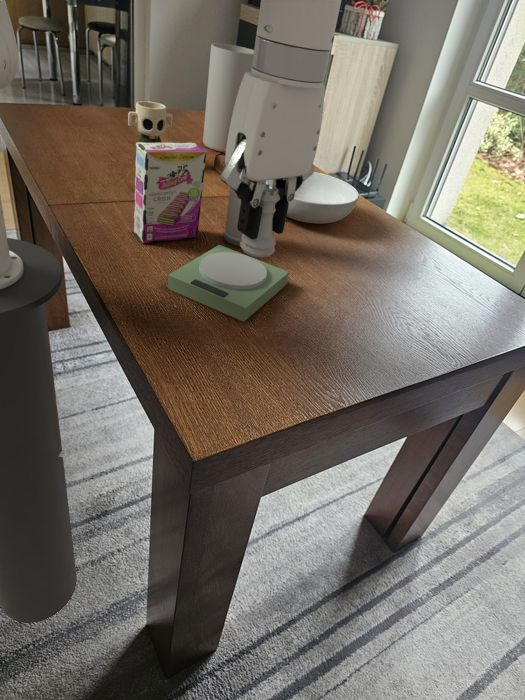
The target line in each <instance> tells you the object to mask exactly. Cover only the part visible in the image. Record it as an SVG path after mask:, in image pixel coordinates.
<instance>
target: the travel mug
mask: <svg viewBox="0 0 525 700" xmlns="http://www.w3.org/2000/svg"><path fill="white" fill-rule="evenodd" d="M242 172H243V170H242ZM242 172H241V173H240V179H241V176H242ZM253 185H254V183H253V182H251V184H250V189H251V190H252V189H253ZM265 185H266V182H265ZM264 188H265V186H264ZM240 205H241V200H240V199H239V198H238V197H237V194H236V193H235V191H234V190H233V189H232V188H231V187H230V186H229V197H228V203H227V211H226V212H227V213H226V221H225V227H224V228H225V230H224V240H225V241H226V242H227V243H228V244H229V245H231V246H235V247H240V248H241V246H240V242H241V241H242V235H243V233H241V232H240V231H239V230H238V229H237V225H238V219H239V212H240Z"/></svg>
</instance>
